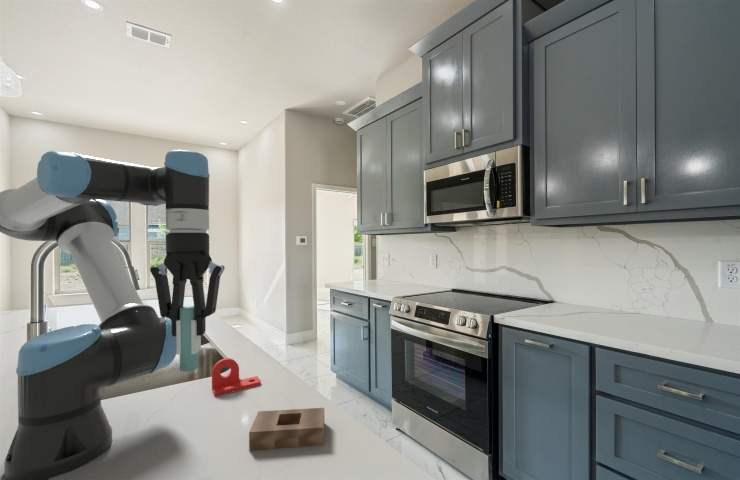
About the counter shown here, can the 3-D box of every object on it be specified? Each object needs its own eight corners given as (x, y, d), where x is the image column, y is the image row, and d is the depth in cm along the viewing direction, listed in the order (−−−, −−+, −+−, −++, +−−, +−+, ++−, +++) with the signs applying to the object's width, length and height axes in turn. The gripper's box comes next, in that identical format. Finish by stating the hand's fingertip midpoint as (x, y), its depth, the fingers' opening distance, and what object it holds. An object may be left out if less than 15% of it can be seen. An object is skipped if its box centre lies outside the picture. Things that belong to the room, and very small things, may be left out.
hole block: (249, 450, 66) (249, 432, 66) (258, 427, 74) (258, 411, 74) (323, 445, 67) (323, 427, 67) (324, 423, 75) (324, 407, 75)
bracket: (214, 396, 89) (214, 366, 89) (211, 390, 93) (211, 360, 93) (261, 385, 96) (261, 357, 96) (257, 380, 99) (256, 352, 99)
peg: (176, 371, 66) (176, 309, 66) (184, 365, 69) (184, 305, 69) (194, 371, 66) (193, 308, 66) (201, 365, 69) (200, 305, 69)
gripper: (136, 231, 63) (137, 360, 63) (221, 231, 65) (222, 357, 65) (157, 232, 71) (158, 347, 71) (233, 232, 72) (234, 344, 72)
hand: (189, 351), depth 68 cm, fingers closed on peg, 2 cm apart
